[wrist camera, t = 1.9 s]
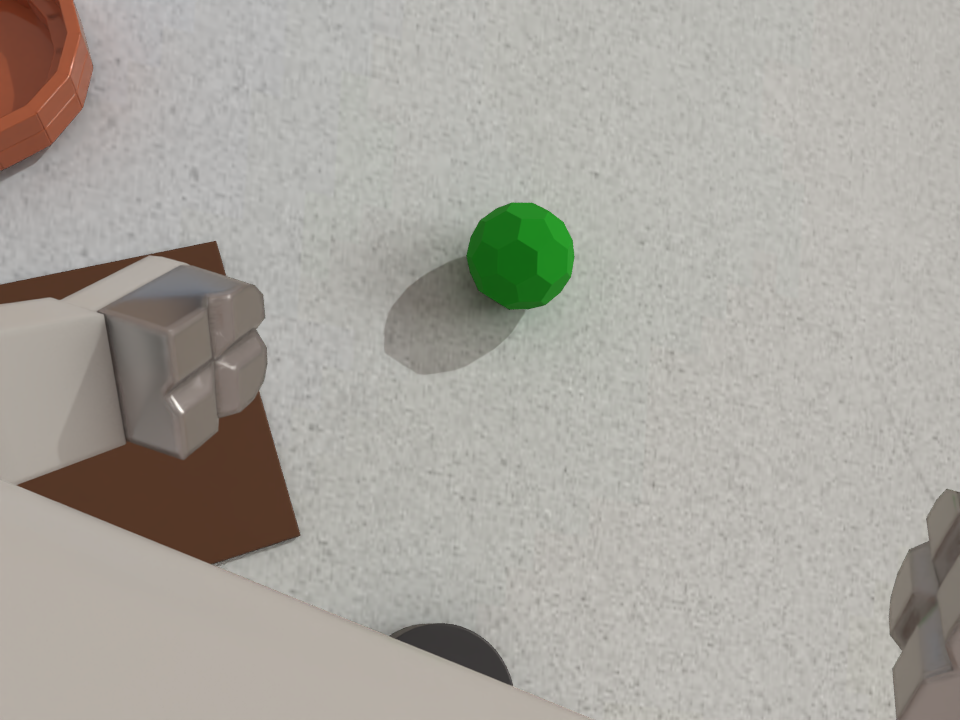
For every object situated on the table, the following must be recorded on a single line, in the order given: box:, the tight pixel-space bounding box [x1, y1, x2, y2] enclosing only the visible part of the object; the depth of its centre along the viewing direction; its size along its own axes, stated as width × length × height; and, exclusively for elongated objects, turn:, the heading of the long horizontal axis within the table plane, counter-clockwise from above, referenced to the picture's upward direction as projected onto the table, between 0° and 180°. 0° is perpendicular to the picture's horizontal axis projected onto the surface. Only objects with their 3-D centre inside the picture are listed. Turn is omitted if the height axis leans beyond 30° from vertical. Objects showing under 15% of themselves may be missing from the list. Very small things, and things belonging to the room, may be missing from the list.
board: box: [0, 241, 300, 564], centre depth 33 cm, size 14×14×1 cm
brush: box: [390, 623, 513, 686], centre depth 26 cm, size 6×6×14 cm
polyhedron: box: [467, 203, 574, 310], centre depth 37 cm, size 5×5×5 cm
